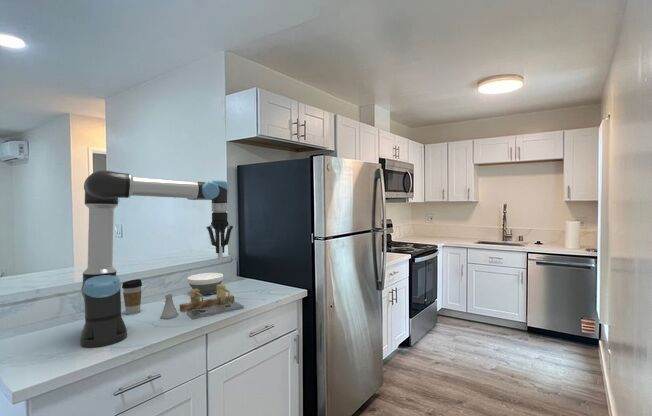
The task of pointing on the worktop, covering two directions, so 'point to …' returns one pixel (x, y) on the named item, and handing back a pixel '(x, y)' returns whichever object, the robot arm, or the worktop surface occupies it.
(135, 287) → the coffee cup
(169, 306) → the flask
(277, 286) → the worktop surface
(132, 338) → the worktop surface
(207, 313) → the hole plate
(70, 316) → the worktop surface
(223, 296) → the slider leg
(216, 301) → the rail
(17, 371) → the worktop surface
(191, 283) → the bowl
